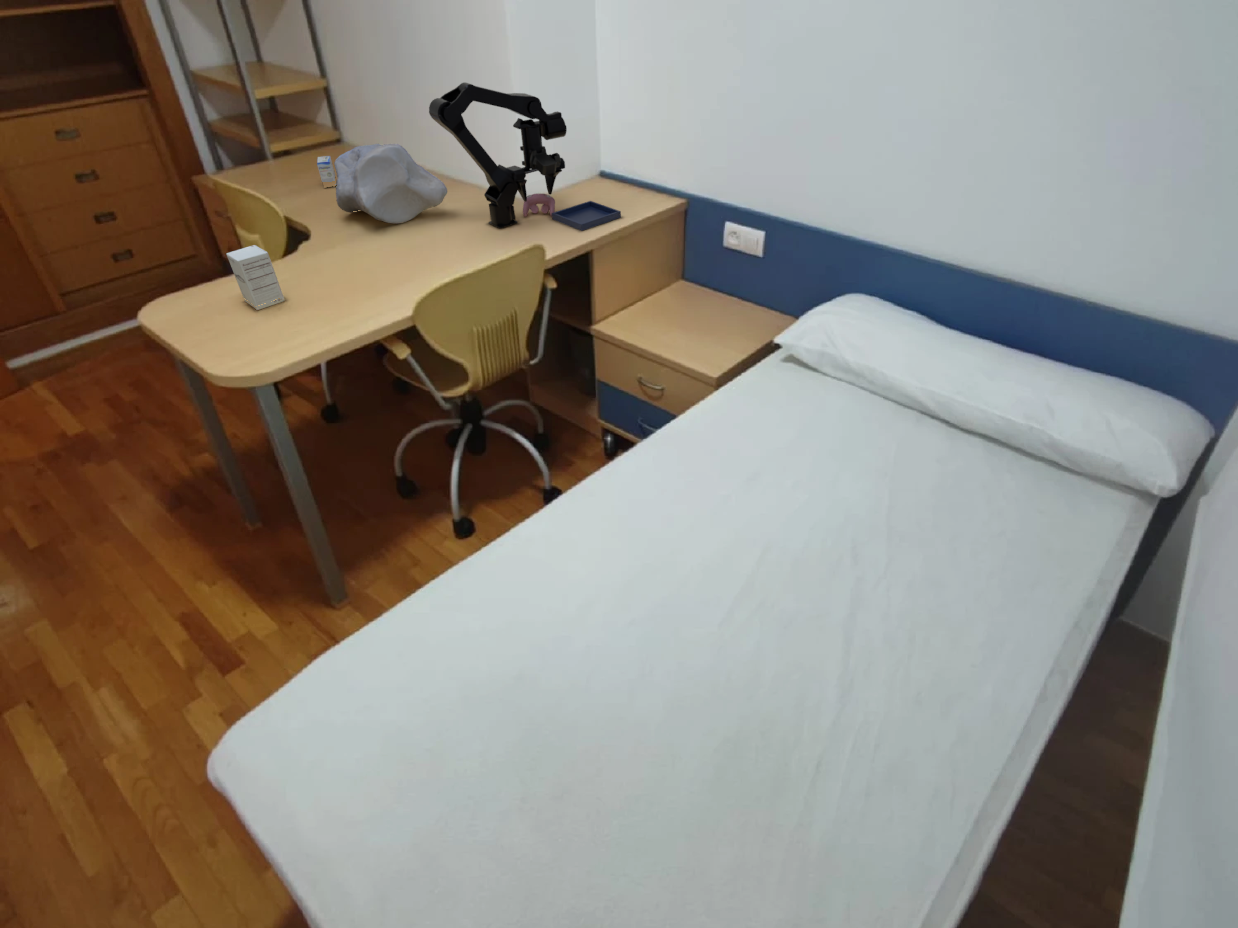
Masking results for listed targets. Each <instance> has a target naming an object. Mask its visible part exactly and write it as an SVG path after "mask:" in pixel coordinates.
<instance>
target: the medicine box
mask: <svg viewBox="0 0 1238 928" xmlns="http://www.w3.org/2000/svg"><path fill="white" fill-rule="evenodd" d="M333 164H334V163H333V161H332V157H331V155H322V156H317V159H316V165H317V169H318V173H319V176H320V180H321V183H322V182H332V181H335V176H336V171H335V167H334V165H333ZM335 185H337V183H336V184H335Z"/></svg>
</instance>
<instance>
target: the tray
mask: <svg viewBox="0 0 1238 928" xmlns="http://www.w3.org/2000/svg"><path fill="white" fill-rule="evenodd" d="M621 218H622V213H621V210H618V209H616V208H613V207H610V206H606V205H604V204H601V203H598V202H595V201H593V200H589V201H585V202H583V203H579V204H576V205H573V206H569V207H566V208H564V209H563V208H562V209H560V210H557V211H555V212H553V213H552V217H551V220H552V221H555V222H558V223H560V224H563V225H565V226H568V227H569V228H570V227H571V228H572V229H575V230H577V231H581V232H582V231H585V230H586V231H587V230H589V229H591V228H594V227H598V226H600V225H601V226H602V225H603V224H607V223H609V222H612V221H615V220H619V219H621Z"/></svg>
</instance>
